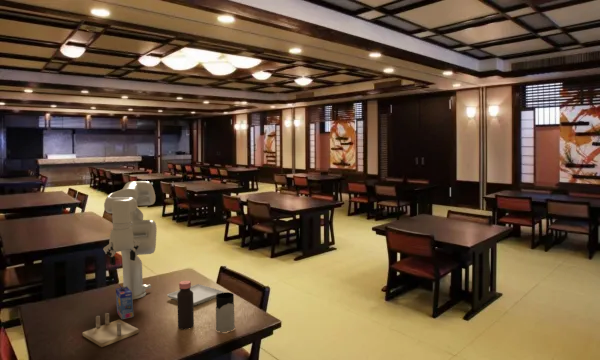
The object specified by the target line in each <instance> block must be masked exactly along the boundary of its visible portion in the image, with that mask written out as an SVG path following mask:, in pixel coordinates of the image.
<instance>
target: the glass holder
mask: <svg viewBox="0 0 600 360" xmlns="http://www.w3.org/2000/svg"><path fill="white" fill-rule="evenodd" d="M234 296H235V295H234V293H232V292H225V291H223V293H217V294H216V298H215V301H216V302H215V328H216V330H217V331H220V332H227V331H231V330H233V329H234V328H236V326H235V304H234V303H235V302H234V301H235V299H234V298H235V297H234Z"/></svg>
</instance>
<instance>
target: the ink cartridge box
mask: <svg viewBox="0 0 600 360" xmlns="http://www.w3.org/2000/svg"><path fill="white" fill-rule="evenodd" d="M115 296H116V297H115V298H116V300H115V301H116V313H117V315H118V316H119V319H120V320H127V319H130V318H134V316H135V314H134V305H133V304H134V303H133V302H134V301H133V300H134V299H132V291H131V290H129V288H128V287H127V286H126V287H123V286H121V285H120V284H119V287H117V288H115Z"/></svg>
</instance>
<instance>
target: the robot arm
mask: <svg viewBox="0 0 600 360" xmlns="http://www.w3.org/2000/svg"><path fill="white" fill-rule="evenodd" d="M155 193H156V192H155V189H154V187H153V184H152V183H151V182H150V181H148V180H147V181H146V180H138V181H136V180H135V181H128V182H127V183H125V184H124V186H123V188H122V189H120V190H117V191H114V192H111V193H109V194H108V195H107V197H106V199H104V204H103V207H104V211H105V212H106V213H107V214H112V215H111V217H112V229H111V230H110V231H109V232H110V234H109V240H108V242H109V243H108V244H107V245H106V246H104V247H103V249H102V250H103V251H104V253H105V255H107V256H108V258H109V265H111V266H116V257H115V255H116V253H119V252H120V254H121V261H122V280H123V281H122V285H123V286H122V287H126V286H127V287H128V288H129V290H131V291H132V300H139V299H141V298H144V297H145V296H146V295H147V291H146V290H147V289H151V288H152V285H151V284H143V283H144V282H143V279H144V278H143V262H142V260H141V258H140V257H139V256H140V255H141V256H143V255H151V254H154V252H155V251H156V246H157V233H158V232H157V223H156V222H155V220H153V219H144V213H143V212H142V210H141V209H139V208H138V206H151V205H154V204H155V202H156V194H155ZM109 250H110V251H109Z"/></svg>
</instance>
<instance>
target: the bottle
mask: <svg viewBox="0 0 600 360" xmlns="http://www.w3.org/2000/svg"><path fill="white" fill-rule="evenodd" d="M178 285H179V287H178V288H179V289H178V290H180V291H179V292H178V294H177V300H176V301H177V328H178V329H180V330H184V329H185V330H189V328H190V329H192V328H193V327H194V325H195V322H194V321H195V320H194V319H195V318H194V317H195V315H194V313H195V312H194V305H193V292H192V291H191V290H190V288H191V286H192V282H191V281H190V280H182V281H180V282H178Z"/></svg>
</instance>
